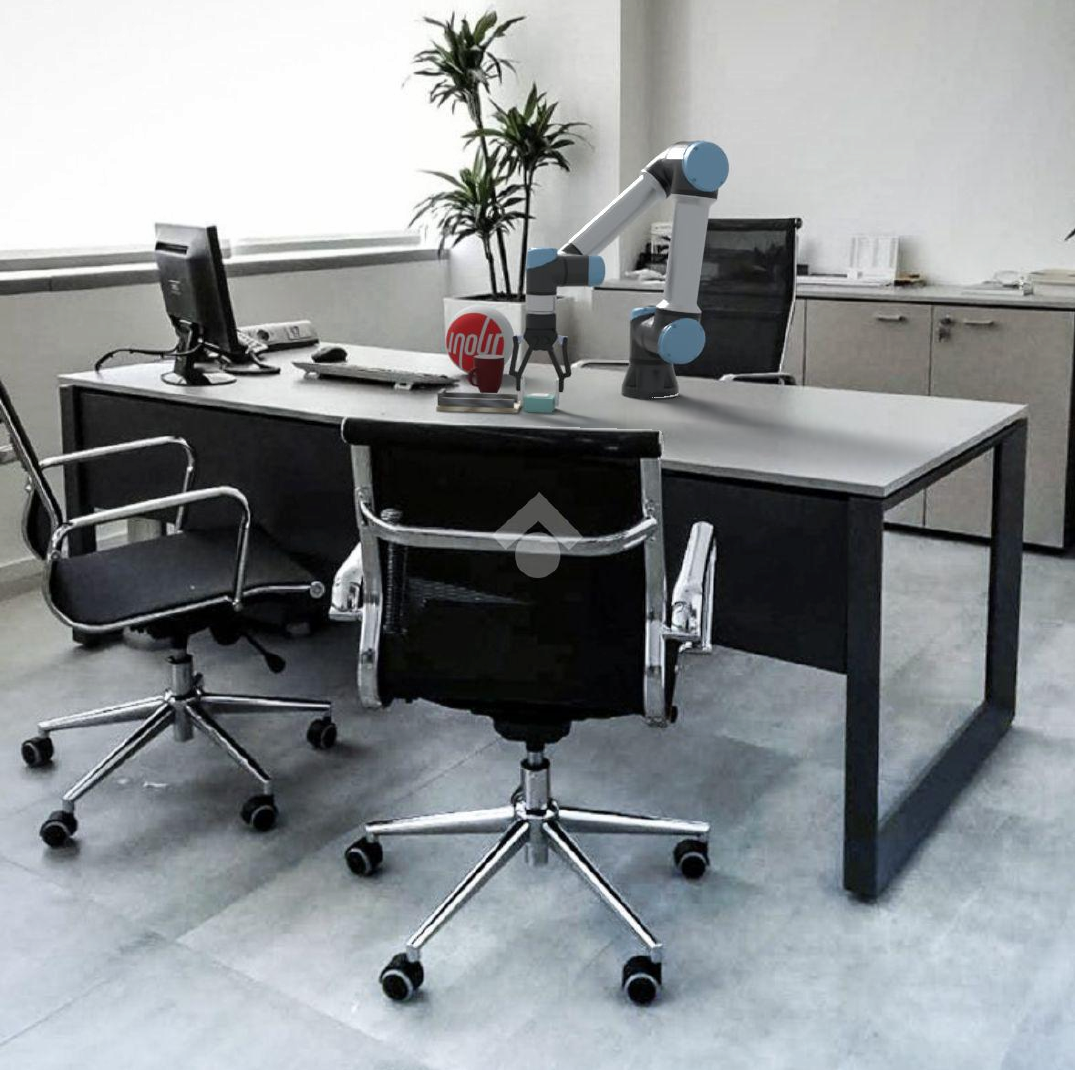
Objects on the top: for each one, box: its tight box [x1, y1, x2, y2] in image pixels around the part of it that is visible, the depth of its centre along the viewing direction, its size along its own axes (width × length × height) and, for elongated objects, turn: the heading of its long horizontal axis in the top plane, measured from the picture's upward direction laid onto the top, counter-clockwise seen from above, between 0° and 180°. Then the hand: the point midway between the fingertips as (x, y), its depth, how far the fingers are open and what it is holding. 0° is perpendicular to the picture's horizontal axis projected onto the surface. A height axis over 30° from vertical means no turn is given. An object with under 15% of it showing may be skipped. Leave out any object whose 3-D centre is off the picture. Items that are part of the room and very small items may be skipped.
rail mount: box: [435, 387, 523, 414], centre depth 328 cm, size 20×11×4 cm, turn 85°
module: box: [523, 392, 556, 414], centre depth 326 cm, size 7×6×4 cm
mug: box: [467, 355, 505, 393], centre depth 345 cm, size 10×8×10 cm
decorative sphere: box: [444, 304, 515, 376], centre depth 376 cm, size 20×20×20 cm
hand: (539, 404), depth 327 cm, fingers open, 8 cm apart
